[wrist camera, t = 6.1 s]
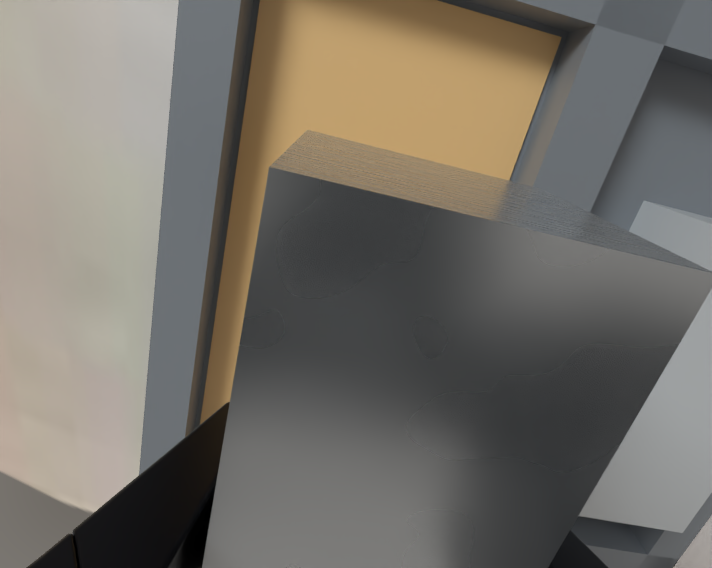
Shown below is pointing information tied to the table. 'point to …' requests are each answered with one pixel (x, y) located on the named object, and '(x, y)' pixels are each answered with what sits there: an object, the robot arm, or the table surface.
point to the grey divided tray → (458, 149)
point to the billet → (432, 365)
